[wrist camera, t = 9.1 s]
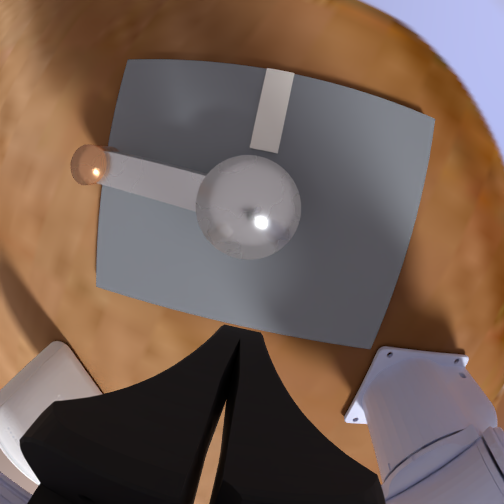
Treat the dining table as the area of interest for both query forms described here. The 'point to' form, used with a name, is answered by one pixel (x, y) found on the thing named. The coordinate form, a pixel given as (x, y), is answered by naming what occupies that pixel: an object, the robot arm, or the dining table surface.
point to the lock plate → (307, 182)
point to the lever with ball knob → (207, 195)
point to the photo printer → (39, 396)
